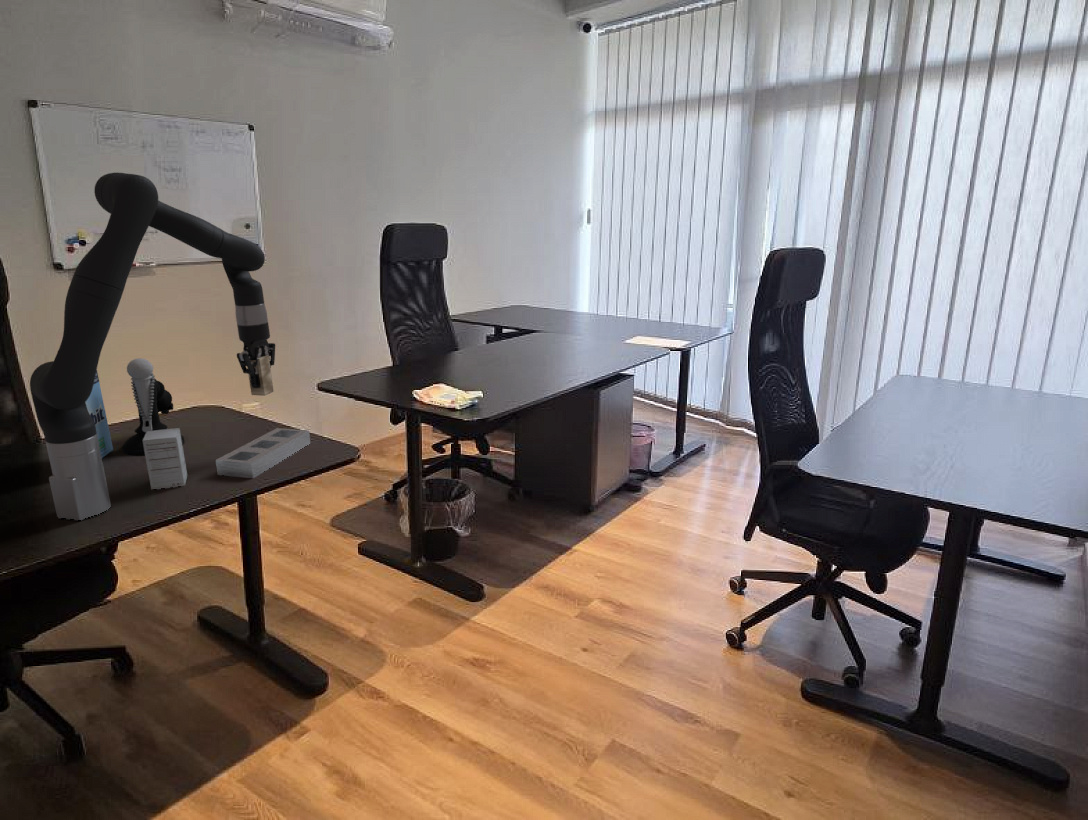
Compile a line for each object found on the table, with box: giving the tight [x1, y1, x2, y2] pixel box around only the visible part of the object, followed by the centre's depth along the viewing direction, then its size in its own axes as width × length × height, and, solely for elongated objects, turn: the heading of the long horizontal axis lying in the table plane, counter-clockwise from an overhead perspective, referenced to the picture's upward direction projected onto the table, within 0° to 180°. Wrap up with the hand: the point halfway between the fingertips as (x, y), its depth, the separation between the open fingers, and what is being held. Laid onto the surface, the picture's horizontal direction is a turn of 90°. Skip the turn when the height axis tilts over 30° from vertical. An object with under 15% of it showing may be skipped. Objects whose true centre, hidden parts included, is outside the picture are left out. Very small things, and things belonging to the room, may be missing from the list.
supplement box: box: [142, 427, 188, 491], centre depth 168 cm, size 7×7×13 cm
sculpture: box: [121, 358, 185, 456], centre depth 196 cm, size 15×24×25 cm, turn 15°
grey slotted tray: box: [215, 427, 311, 479], centre depth 185 cm, size 26×10×4 cm, turn 167°
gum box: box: [86, 369, 114, 459], centre depth 180 cm, size 20×5×23 cm, turn 8°
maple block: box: [246, 355, 275, 397], centre depth 186 cm, size 4×4×10 cm
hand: (261, 385), depth 187 cm, fingers closed on maple block, 4 cm apart
